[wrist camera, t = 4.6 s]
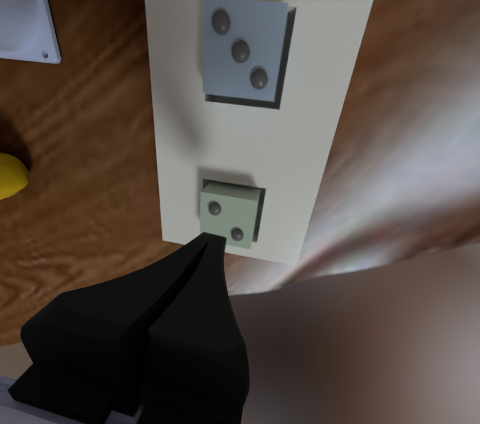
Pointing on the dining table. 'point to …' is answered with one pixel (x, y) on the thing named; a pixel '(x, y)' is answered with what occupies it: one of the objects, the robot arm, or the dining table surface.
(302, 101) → the button panel
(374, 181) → the dining table surface
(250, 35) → the button three
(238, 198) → the button two
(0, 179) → the duckling
